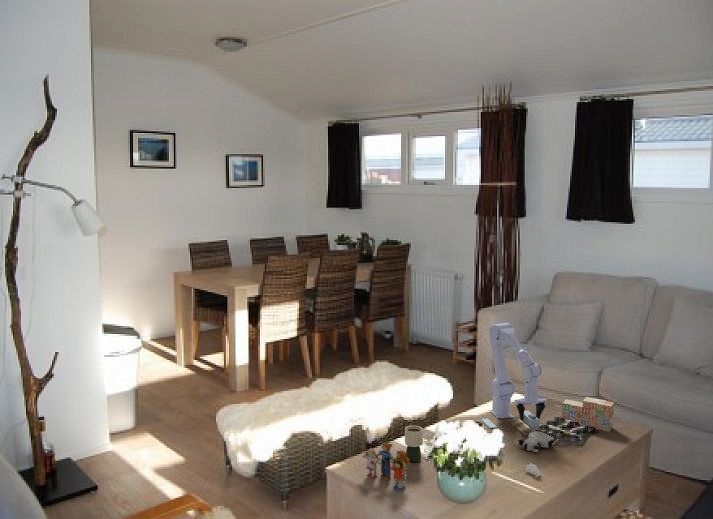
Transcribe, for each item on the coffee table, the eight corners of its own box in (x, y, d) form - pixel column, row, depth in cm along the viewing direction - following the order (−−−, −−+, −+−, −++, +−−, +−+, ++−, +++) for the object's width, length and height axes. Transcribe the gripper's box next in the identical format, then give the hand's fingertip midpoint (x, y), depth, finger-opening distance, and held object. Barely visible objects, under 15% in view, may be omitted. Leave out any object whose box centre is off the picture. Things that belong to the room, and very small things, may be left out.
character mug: (428, 462, 250) (429, 431, 248) (414, 467, 246) (415, 435, 244) (411, 452, 259) (412, 422, 257) (397, 456, 255) (398, 426, 253)
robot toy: (536, 459, 257) (559, 447, 266) (536, 448, 256) (559, 437, 265) (512, 448, 266) (535, 437, 275) (512, 438, 266) (535, 427, 274)
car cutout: (545, 475, 241) (546, 464, 241) (535, 481, 237) (536, 469, 236) (512, 462, 252) (512, 451, 252) (502, 467, 248) (502, 456, 247)
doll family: (360, 474, 240) (361, 441, 238) (377, 466, 247) (378, 433, 245) (403, 493, 225) (404, 458, 224) (420, 484, 232) (421, 450, 231)
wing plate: (480, 421, 294) (480, 419, 294) (487, 421, 295) (487, 418, 295) (489, 430, 285) (489, 427, 285) (497, 429, 285) (497, 426, 285)
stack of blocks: (561, 422, 294) (562, 396, 292) (564, 417, 299) (566, 392, 297) (609, 432, 282) (611, 406, 281) (612, 428, 287) (614, 401, 286)
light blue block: (519, 421, 291) (520, 408, 290) (528, 420, 292) (528, 408, 291) (530, 431, 279) (531, 418, 279) (539, 431, 280) (540, 418, 279)
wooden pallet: (509, 422, 292) (510, 416, 292) (534, 420, 294) (534, 414, 294) (524, 436, 277) (524, 429, 276) (549, 434, 279) (550, 428, 278)
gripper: (519, 394, 278) (518, 423, 280) (550, 392, 281) (548, 421, 282) (513, 388, 285) (511, 417, 287) (543, 387, 287) (541, 416, 289)
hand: (529, 419), depth 285 cm, fingers open, 7 cm apart
